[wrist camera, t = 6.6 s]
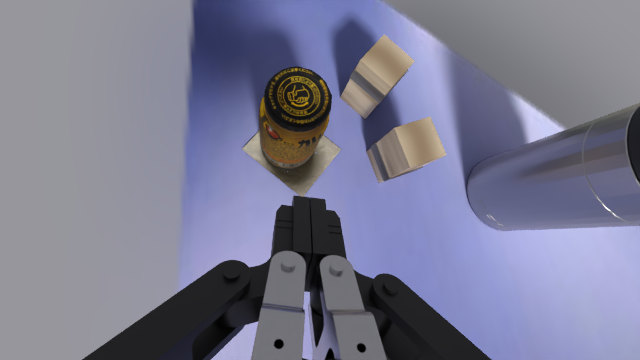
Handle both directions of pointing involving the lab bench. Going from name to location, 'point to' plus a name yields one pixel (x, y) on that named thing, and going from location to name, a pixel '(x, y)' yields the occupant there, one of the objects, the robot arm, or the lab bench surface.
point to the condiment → (294, 128)
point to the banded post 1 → (376, 76)
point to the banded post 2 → (405, 149)
